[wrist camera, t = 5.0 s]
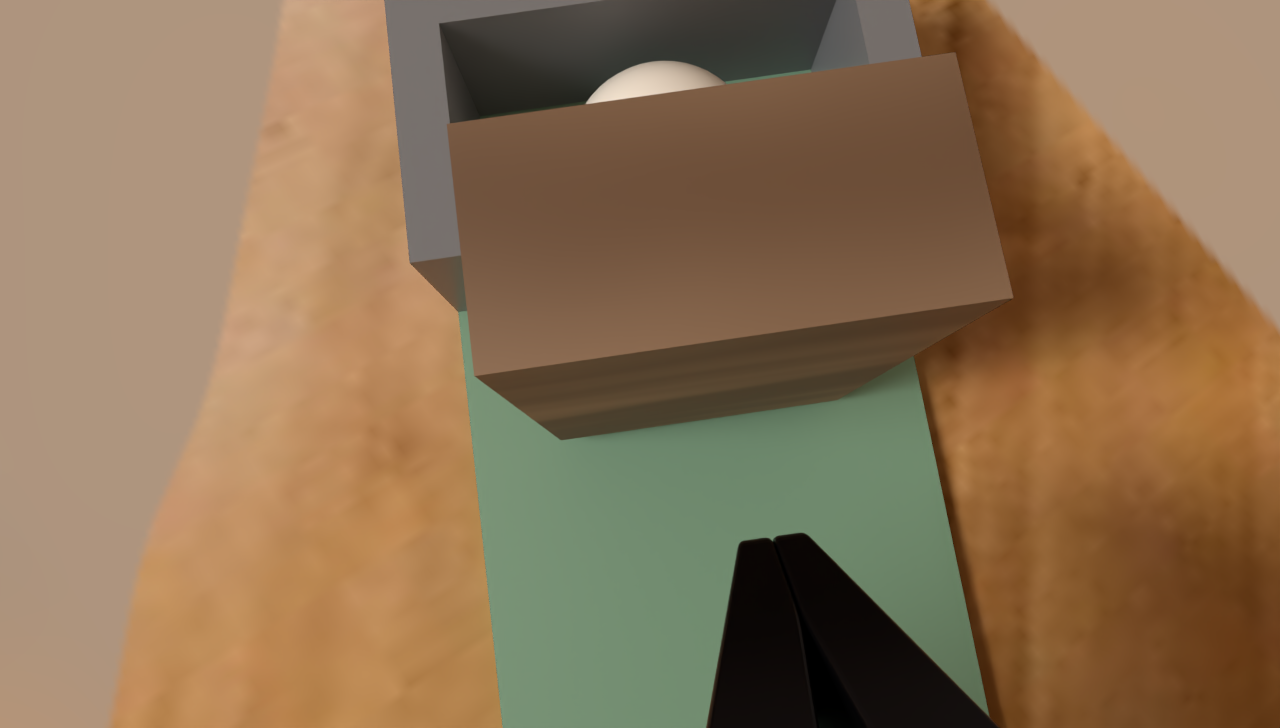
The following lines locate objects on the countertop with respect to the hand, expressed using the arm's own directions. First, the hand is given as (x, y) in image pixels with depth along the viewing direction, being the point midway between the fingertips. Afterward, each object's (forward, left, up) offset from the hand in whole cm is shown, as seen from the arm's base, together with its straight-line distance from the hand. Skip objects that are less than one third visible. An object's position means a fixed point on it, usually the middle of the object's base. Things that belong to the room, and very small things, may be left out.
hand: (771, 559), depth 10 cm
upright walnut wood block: (+4, 0, -7) cm, 8 cm away
